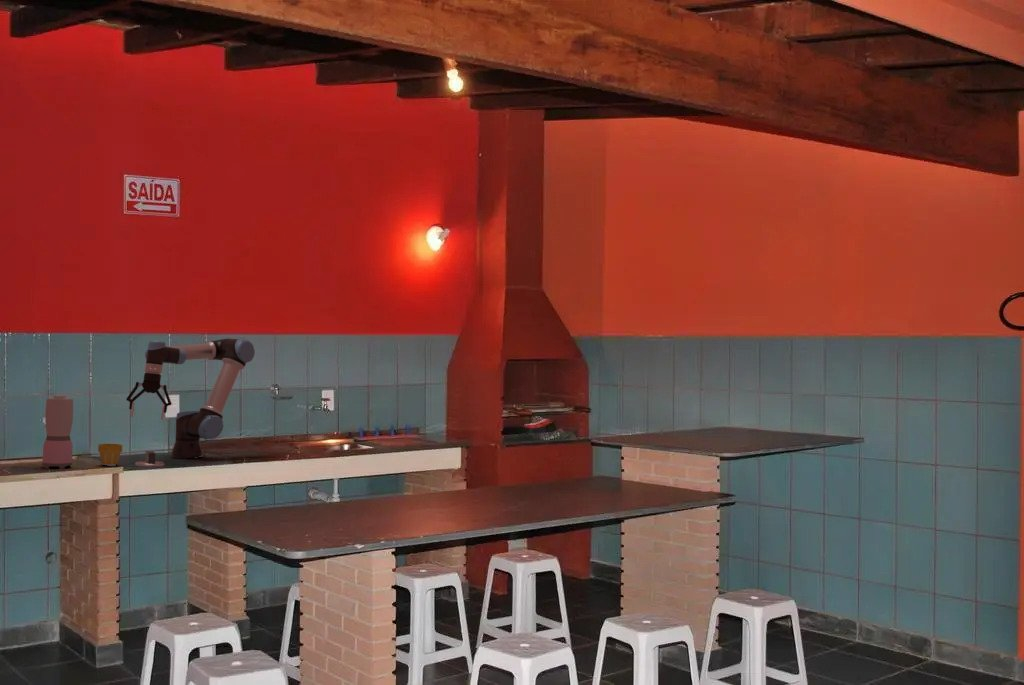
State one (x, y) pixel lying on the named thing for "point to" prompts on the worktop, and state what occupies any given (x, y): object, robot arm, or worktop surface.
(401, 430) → the worktop surface
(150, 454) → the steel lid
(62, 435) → the blender
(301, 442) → the worktop surface
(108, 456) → the plant pot
